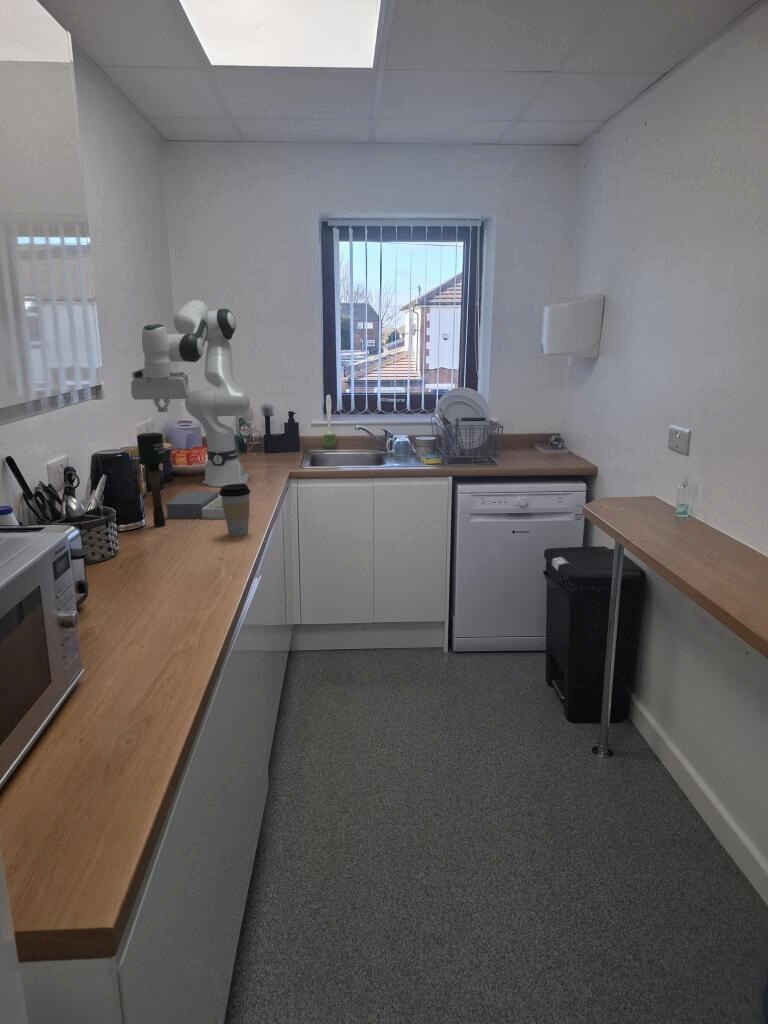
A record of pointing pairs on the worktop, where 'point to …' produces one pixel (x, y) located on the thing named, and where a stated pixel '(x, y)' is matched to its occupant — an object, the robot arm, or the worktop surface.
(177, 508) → the dark grey slab
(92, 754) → the worktop surface
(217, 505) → the tile
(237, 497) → the coffee cup
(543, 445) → the worktop surface
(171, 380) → the robot arm
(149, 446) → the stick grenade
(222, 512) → the box
